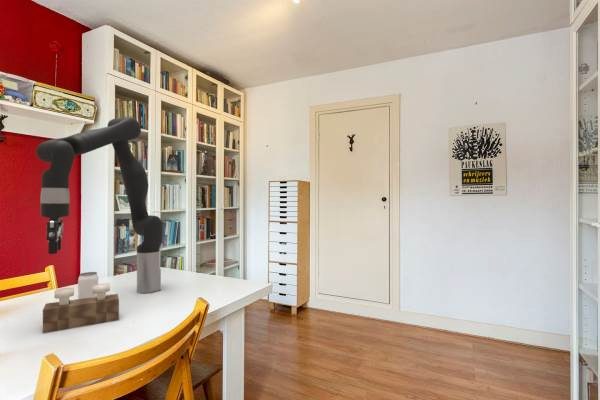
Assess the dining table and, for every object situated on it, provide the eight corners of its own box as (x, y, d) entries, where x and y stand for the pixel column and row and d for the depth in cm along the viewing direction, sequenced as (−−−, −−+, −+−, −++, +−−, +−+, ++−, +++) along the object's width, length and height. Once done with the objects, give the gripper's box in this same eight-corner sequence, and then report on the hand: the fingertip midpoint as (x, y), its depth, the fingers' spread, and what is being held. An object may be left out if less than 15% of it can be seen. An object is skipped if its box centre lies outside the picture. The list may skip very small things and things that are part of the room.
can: (76, 308, 117) (76, 276, 117) (79, 303, 123) (79, 272, 123) (97, 306, 120) (97, 274, 120) (99, 301, 126) (99, 271, 126)
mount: (117, 313, 113) (117, 293, 113) (118, 319, 107) (118, 299, 107) (45, 325, 102) (45, 303, 102) (42, 333, 96) (42, 310, 96)
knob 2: (109, 304, 110) (109, 282, 110) (110, 308, 106) (110, 285, 106) (92, 306, 108) (92, 284, 108) (92, 311, 104) (92, 288, 104)
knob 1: (74, 309, 105) (74, 286, 105) (73, 314, 101) (73, 290, 101) (55, 312, 102) (55, 289, 102) (53, 317, 98) (53, 292, 98)
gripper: (67, 202, 100) (66, 254, 100) (71, 202, 112) (71, 248, 112) (36, 202, 96) (35, 256, 96) (44, 202, 108) (44, 250, 108)
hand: (55, 252), depth 104 cm, fingers open, 8 cm apart
